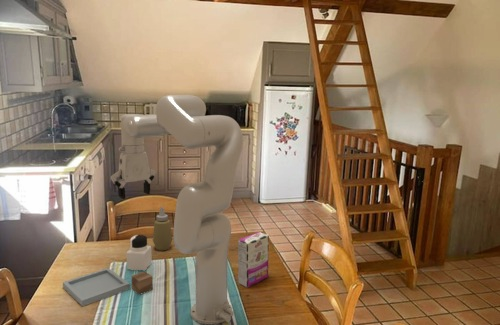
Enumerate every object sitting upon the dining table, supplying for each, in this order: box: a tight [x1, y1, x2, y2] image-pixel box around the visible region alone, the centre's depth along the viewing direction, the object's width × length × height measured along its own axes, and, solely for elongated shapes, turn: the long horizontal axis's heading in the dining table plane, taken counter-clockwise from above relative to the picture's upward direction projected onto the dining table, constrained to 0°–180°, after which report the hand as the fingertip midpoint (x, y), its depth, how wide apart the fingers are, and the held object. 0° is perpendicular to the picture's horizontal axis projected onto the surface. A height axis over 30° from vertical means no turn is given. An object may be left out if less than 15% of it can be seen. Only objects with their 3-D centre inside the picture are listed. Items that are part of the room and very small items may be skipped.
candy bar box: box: [237, 231, 270, 288], centre depth 140 cm, size 11×5×16 cm, turn 136°
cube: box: [130, 271, 154, 295], centre depth 133 cm, size 5×5×5 cm
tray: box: [62, 267, 131, 307], centre depth 133 cm, size 16×16×2 cm
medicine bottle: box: [125, 234, 153, 271], centre depth 149 cm, size 7×7×12 cm
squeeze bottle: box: [152, 206, 173, 251], centre depth 166 cm, size 8×8×18 cm
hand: (134, 195), depth 143 cm, fingers open, 9 cm apart
